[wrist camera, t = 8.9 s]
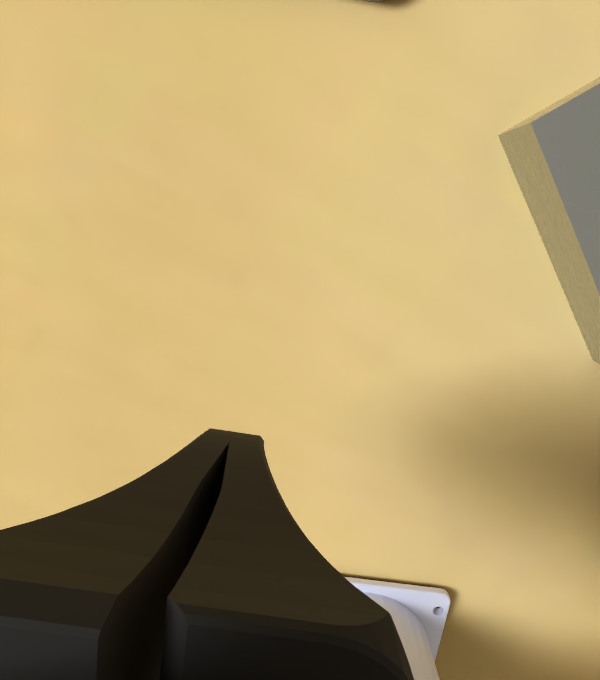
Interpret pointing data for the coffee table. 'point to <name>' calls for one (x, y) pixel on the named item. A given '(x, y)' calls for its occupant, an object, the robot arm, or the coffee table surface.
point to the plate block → (565, 196)
